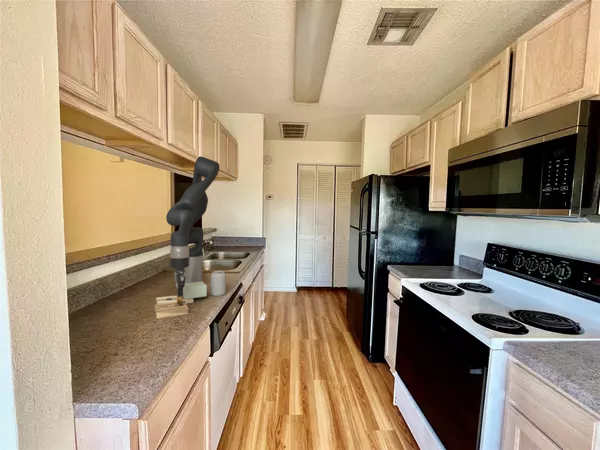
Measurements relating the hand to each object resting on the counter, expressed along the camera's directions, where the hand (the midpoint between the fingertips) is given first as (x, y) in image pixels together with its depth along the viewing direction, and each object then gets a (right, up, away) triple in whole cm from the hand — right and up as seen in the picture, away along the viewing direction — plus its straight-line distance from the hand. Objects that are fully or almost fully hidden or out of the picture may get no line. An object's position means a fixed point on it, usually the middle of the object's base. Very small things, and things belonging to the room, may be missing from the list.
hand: (179, 295), depth 121 cm
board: (-7, -6, +12) cm, 15 cm away
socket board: (-3, -7, -1) cm, 8 cm away
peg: (0, -3, 0) cm, 3 cm away
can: (+9, -6, +24) cm, 27 cm away
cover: (0, -4, +16) cm, 16 cm away
